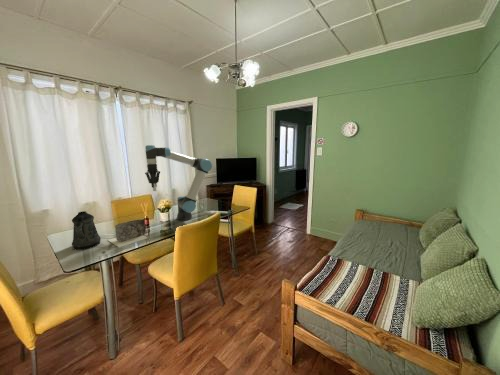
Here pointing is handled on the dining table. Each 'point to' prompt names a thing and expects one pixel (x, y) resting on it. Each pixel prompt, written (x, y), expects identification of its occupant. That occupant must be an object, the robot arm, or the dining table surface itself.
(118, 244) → the mat
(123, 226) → the stone block
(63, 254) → the dining table surface
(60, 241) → the dining table surface
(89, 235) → the black drawstring bag
